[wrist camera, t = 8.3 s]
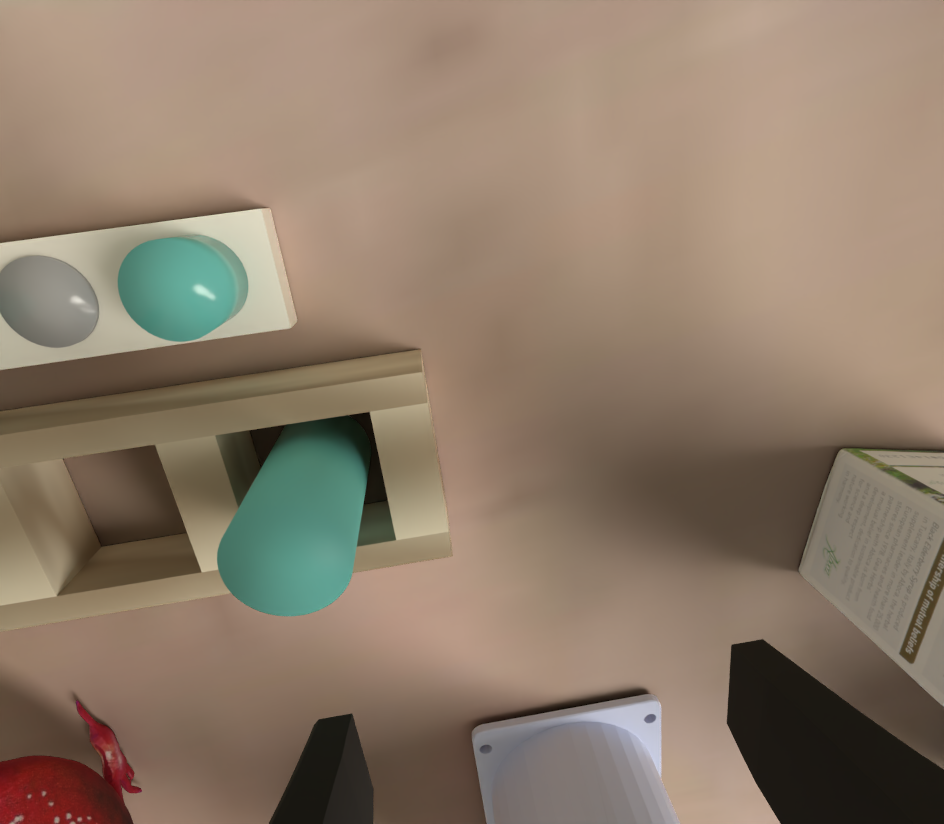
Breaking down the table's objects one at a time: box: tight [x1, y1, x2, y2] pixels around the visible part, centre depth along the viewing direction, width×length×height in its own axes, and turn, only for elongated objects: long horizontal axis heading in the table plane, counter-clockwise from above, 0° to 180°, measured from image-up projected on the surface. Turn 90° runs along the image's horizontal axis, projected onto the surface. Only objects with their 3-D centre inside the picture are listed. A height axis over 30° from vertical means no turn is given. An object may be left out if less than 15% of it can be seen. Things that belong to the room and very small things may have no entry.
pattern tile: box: [0, 208, 297, 370], centre depth 14 cm, size 3×12×3 cm, turn 97°
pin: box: [217, 415, 371, 616], centre depth 15 cm, size 3×3×6 cm
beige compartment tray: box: [0, 349, 453, 632], centre depth 15 cm, size 6×19×6 cm, turn 97°
